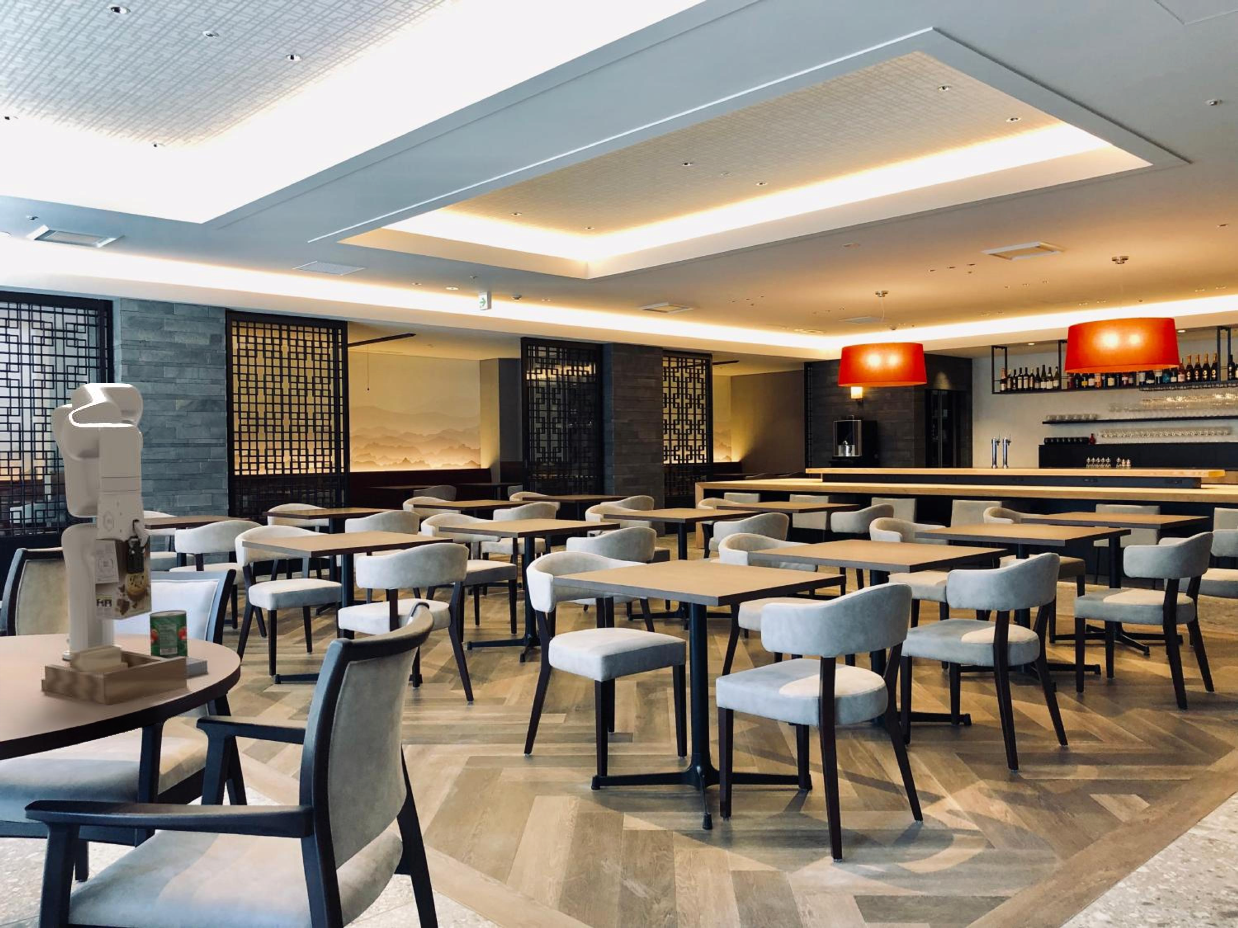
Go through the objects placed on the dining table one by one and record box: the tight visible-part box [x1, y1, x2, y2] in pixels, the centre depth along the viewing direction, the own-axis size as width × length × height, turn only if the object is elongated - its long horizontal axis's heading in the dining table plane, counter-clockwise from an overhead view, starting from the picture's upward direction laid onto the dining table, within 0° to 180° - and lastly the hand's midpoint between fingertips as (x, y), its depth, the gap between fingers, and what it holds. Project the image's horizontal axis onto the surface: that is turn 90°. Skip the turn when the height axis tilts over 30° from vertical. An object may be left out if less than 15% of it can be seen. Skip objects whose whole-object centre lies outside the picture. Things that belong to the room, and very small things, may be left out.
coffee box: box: [94, 535, 153, 621], centre depth 197 cm, size 9×6×16 cm
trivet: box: [167, 656, 208, 677], centre depth 212 cm, size 10×8×2 cm
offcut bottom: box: [87, 662, 128, 675], centre depth 204 cm, size 6×10×4 cm, turn 147°
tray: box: [40, 649, 188, 706], centre depth 200 cm, size 25×16×6 cm, turn 57°
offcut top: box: [69, 645, 121, 671], centre depth 204 cm, size 5×8×4 cm, turn 145°
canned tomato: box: [148, 609, 189, 658], centre depth 225 cm, size 8×8×11 cm
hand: (123, 571), depth 197 cm, fingers closed on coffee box, 8 cm apart
